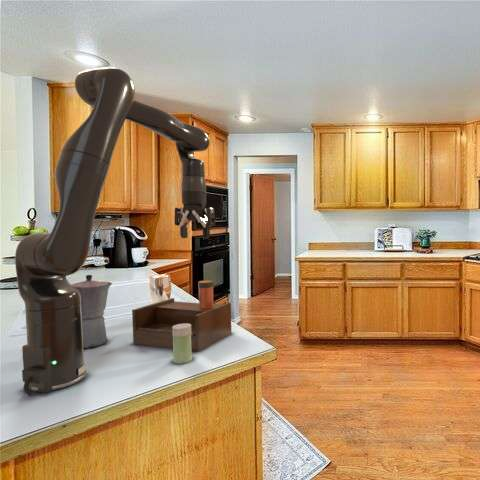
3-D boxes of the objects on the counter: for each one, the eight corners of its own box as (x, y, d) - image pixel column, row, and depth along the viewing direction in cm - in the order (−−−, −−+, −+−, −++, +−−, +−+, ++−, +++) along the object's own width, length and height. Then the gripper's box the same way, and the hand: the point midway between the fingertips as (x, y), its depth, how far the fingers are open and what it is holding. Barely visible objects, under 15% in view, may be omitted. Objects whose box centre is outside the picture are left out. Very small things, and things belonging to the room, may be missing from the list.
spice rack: (198, 351, 96) (197, 315, 95) (133, 343, 101) (132, 309, 101) (231, 333, 111) (230, 302, 110) (172, 327, 116) (171, 298, 115)
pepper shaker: (207, 309, 105) (207, 283, 105) (195, 308, 106) (195, 282, 106) (216, 306, 109) (216, 280, 109) (205, 305, 110) (204, 280, 110)
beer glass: (147, 319, 125) (146, 277, 124) (153, 314, 131) (152, 274, 130) (169, 318, 127) (168, 277, 126) (174, 313, 133) (172, 274, 132)
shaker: (183, 364, 88) (182, 329, 87) (169, 362, 89) (167, 327, 88) (196, 357, 92) (195, 324, 91) (181, 356, 93) (180, 322, 92)
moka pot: (124, 337, 107) (121, 272, 105) (70, 357, 92) (66, 281, 90) (100, 334, 109) (97, 270, 108) (44, 353, 94) (40, 279, 93)
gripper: (167, 189, 117) (169, 238, 118) (204, 189, 113) (205, 239, 114) (184, 191, 124) (185, 237, 125) (219, 191, 121) (220, 238, 122)
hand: (195, 238), depth 120 cm, fingers open, 8 cm apart
